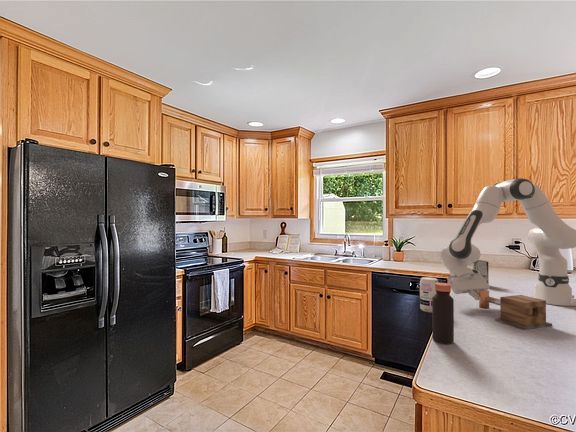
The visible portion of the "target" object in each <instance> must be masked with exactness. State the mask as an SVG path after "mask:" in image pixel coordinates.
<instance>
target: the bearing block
mask: <svg viewBox="0 0 576 432" xmlns="http://www.w3.org/2000/svg"><path fill="white" fill-rule="evenodd" d="M499 299H500V305H499V306H500V313H499V314H500V317H497V318H494V321H495V322H498V323H501V322H502V323H501V324H505V325H508V326H511V327H514V328H516V329H519V330H522V331H526V330H530V329H531V330H533V329H538V328H545V327H546V328H547V327H551V326H553V323H550V322H548V321H547V304H546V300H541V299H537V298H532V296H527V295H524V294H518V295H506V296H500V298H499Z"/></svg>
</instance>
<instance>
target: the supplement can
mask: <svg viewBox="0 0 576 432" xmlns="http://www.w3.org/2000/svg"><path fill="white" fill-rule="evenodd" d="M435 283H440V282H439V280H438V278H436V277H430V276H429V277H427V276H425V277H424V276H423V277H420V281H419V308H420V310H421V311H422V312H424V313H425V312H426V313H432V297H433V296H434V295H435V294H436V291H435Z"/></svg>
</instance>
